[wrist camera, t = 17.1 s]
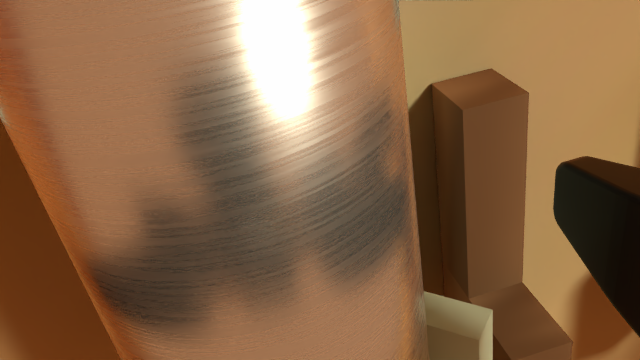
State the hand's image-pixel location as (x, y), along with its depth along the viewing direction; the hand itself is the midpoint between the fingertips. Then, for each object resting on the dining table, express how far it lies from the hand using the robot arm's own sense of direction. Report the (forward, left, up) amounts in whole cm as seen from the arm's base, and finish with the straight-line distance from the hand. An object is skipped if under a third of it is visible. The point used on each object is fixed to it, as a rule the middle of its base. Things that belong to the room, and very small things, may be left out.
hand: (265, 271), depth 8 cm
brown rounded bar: (0, 0, -3) cm, 3 cm away
